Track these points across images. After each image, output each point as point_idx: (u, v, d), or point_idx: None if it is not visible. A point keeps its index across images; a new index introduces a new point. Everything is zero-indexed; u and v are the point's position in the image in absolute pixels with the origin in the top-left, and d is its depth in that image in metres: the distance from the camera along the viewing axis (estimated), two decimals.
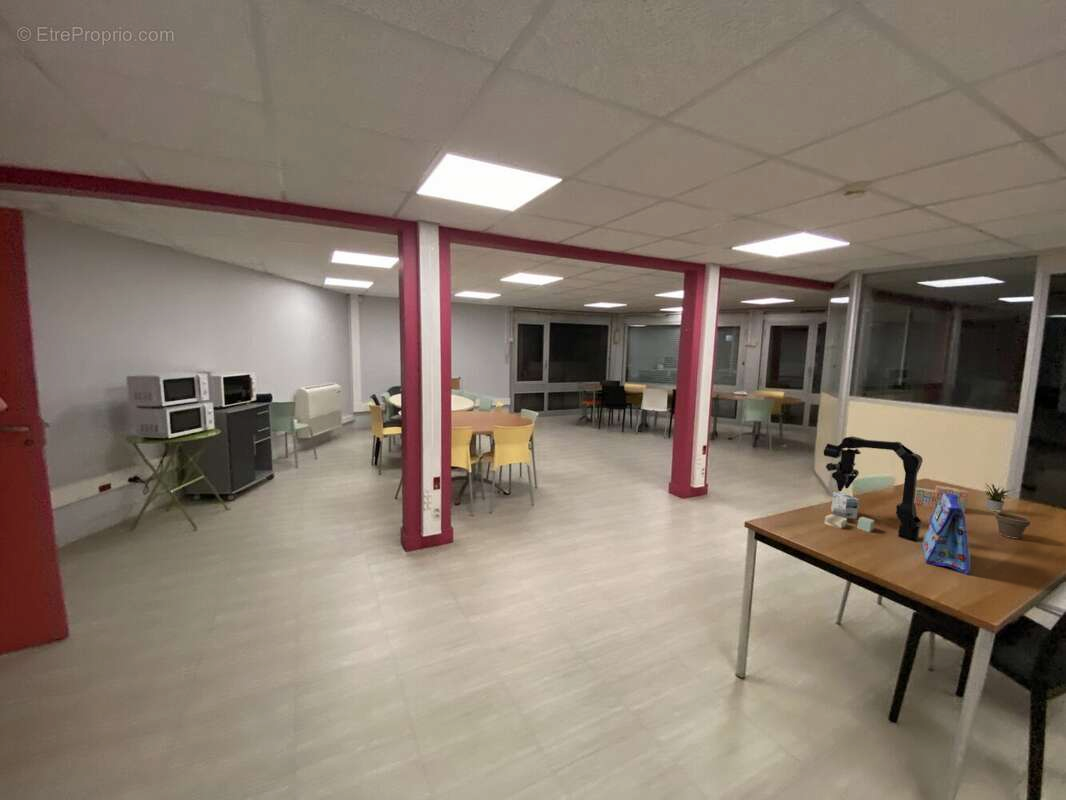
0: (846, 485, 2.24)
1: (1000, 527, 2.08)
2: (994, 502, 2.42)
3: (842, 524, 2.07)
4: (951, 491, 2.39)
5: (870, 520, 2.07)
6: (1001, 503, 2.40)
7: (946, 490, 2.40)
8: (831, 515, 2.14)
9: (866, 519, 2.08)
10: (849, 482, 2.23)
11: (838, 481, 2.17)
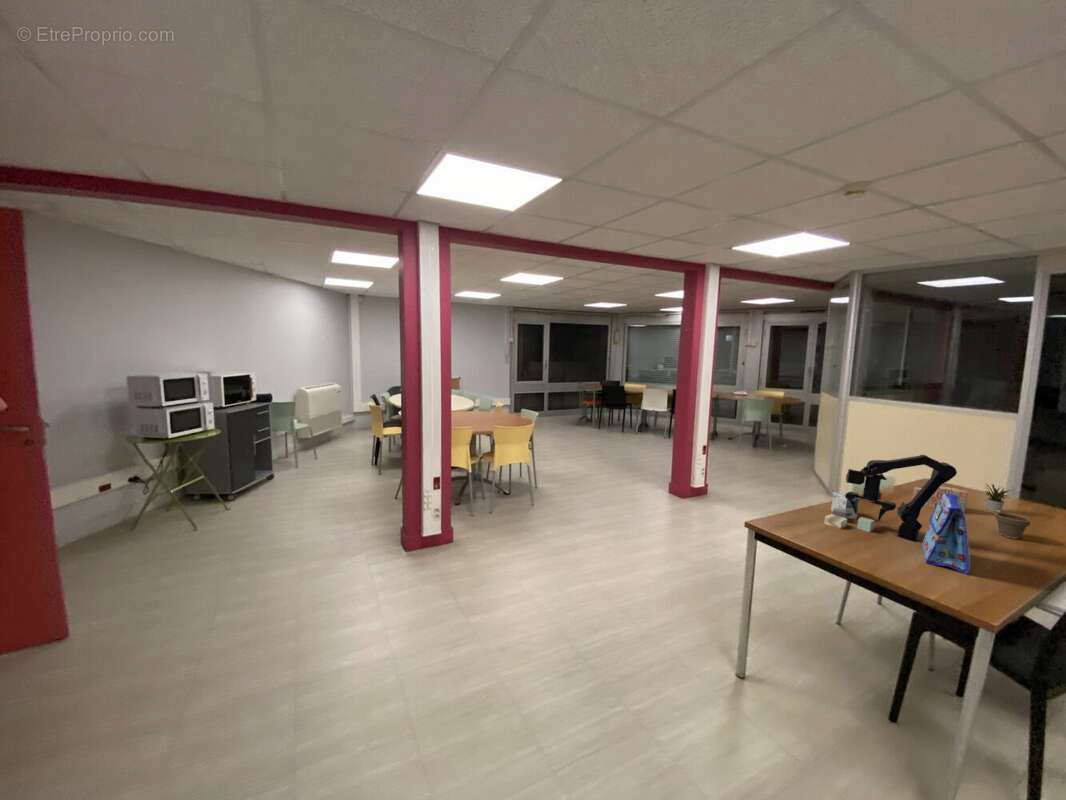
0: None
1: (1000, 527, 2.08)
2: (994, 502, 2.42)
3: (841, 524, 2.07)
4: (951, 491, 2.39)
5: (870, 520, 2.07)
6: (1001, 503, 2.40)
7: (946, 490, 2.40)
8: (831, 515, 2.14)
9: (866, 519, 2.08)
10: None
11: None
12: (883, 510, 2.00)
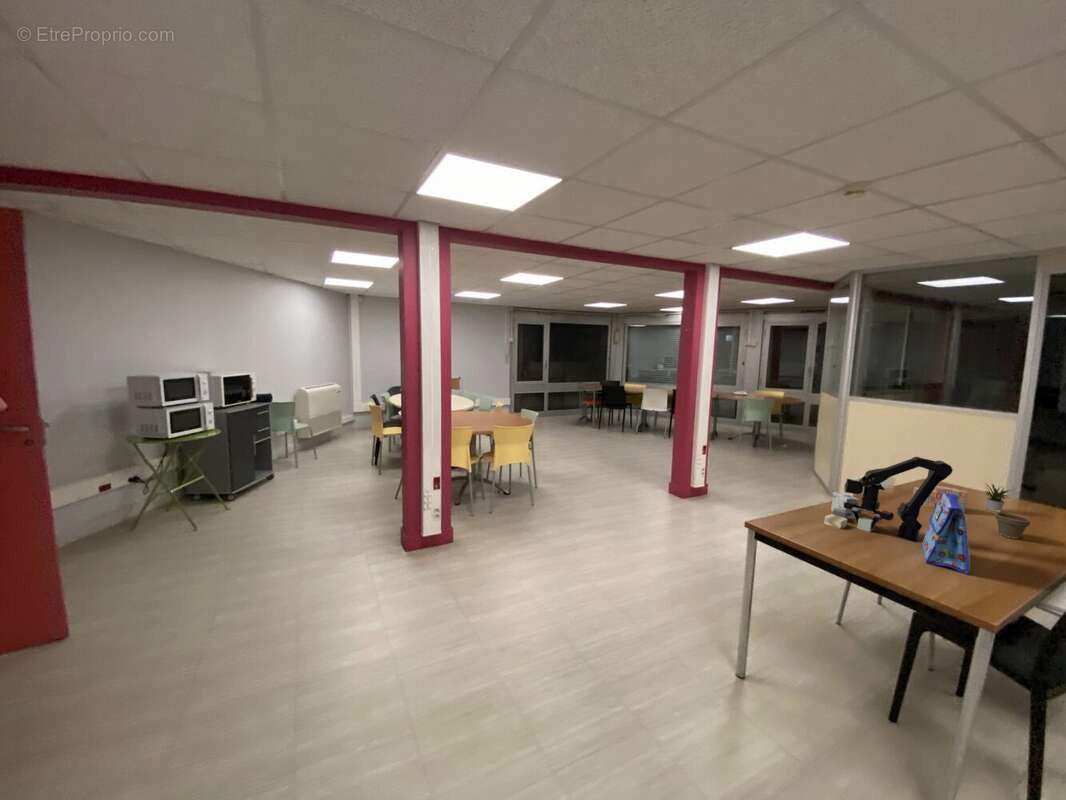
0: None
1: (1000, 527, 2.08)
2: (994, 502, 2.42)
3: (841, 524, 2.07)
4: (950, 491, 2.39)
5: (870, 520, 2.07)
6: (1001, 503, 2.40)
7: (945, 490, 2.40)
8: (831, 515, 2.14)
9: (866, 519, 2.08)
10: None
11: None
12: (876, 519, 2.02)
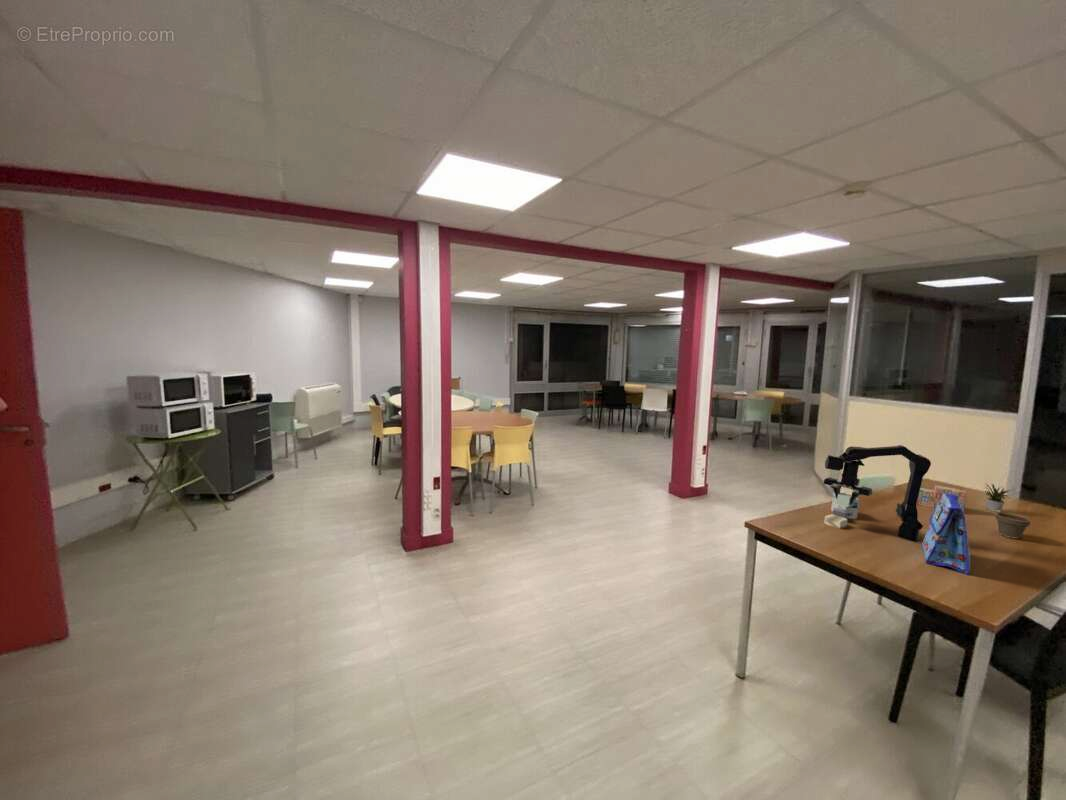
0: None
1: (1000, 527, 2.08)
2: (994, 502, 2.42)
3: (841, 524, 2.07)
4: (950, 491, 2.39)
5: (849, 496, 2.08)
6: (1001, 503, 2.40)
7: (945, 490, 2.40)
8: (831, 515, 2.14)
9: (845, 495, 2.09)
10: None
11: None
12: (855, 494, 2.03)
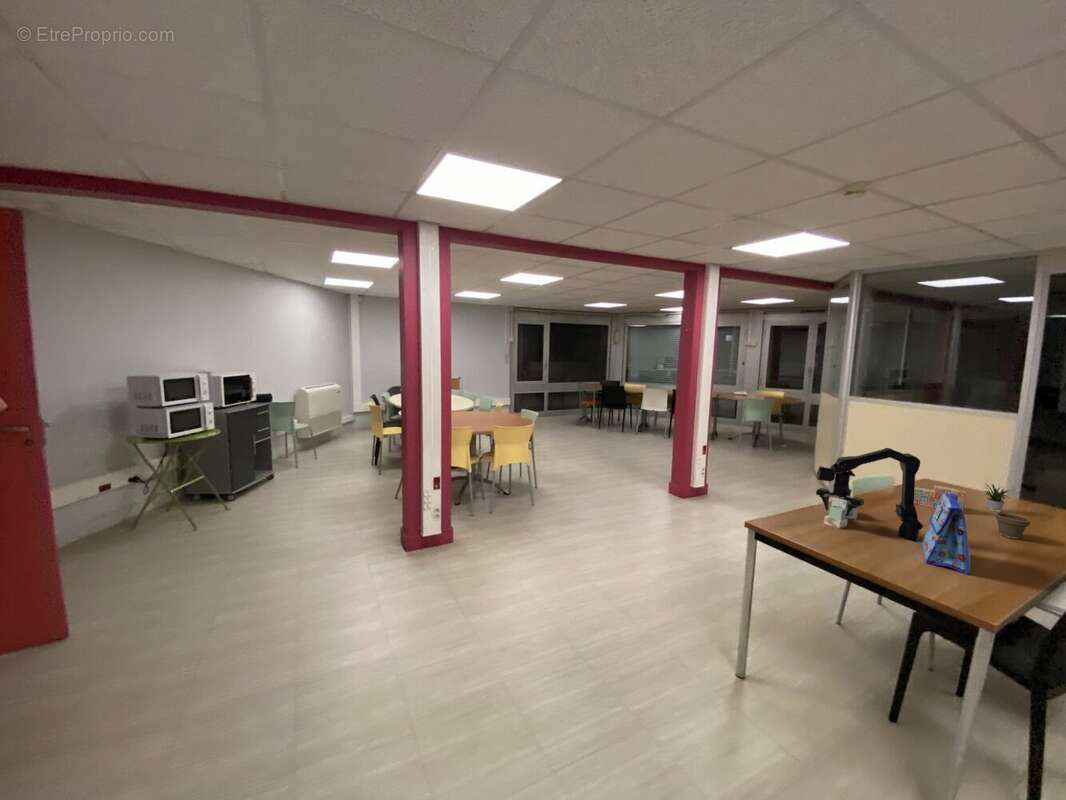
0: None
1: (1000, 527, 2.08)
2: (994, 502, 2.42)
3: (841, 524, 2.07)
4: (949, 491, 2.39)
5: (841, 509, 2.09)
6: (1001, 503, 2.40)
7: (944, 490, 2.40)
8: None
9: (837, 508, 2.10)
10: None
11: None
12: (851, 506, 2.03)
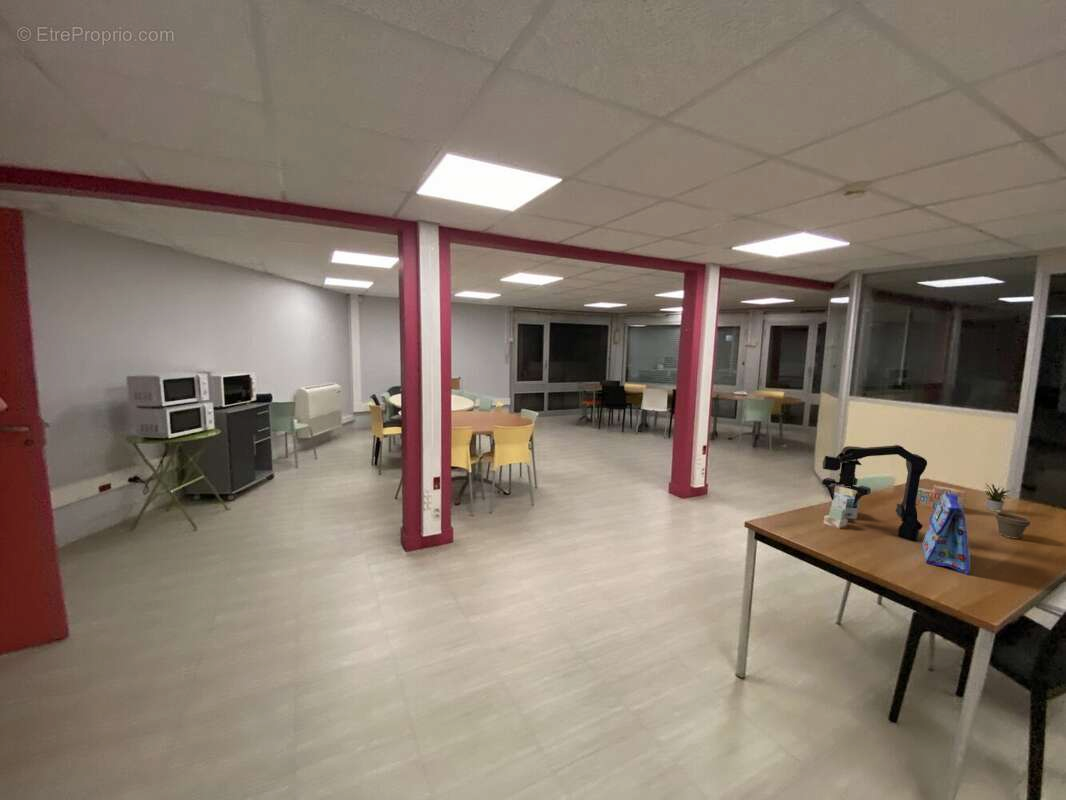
0: None
1: (1000, 527, 2.08)
2: (994, 502, 2.42)
3: (840, 524, 2.07)
4: (949, 491, 2.39)
5: (841, 509, 2.09)
6: (1001, 503, 2.40)
7: (943, 490, 2.40)
8: None
9: (837, 508, 2.10)
10: None
11: None
12: (858, 495, 2.03)
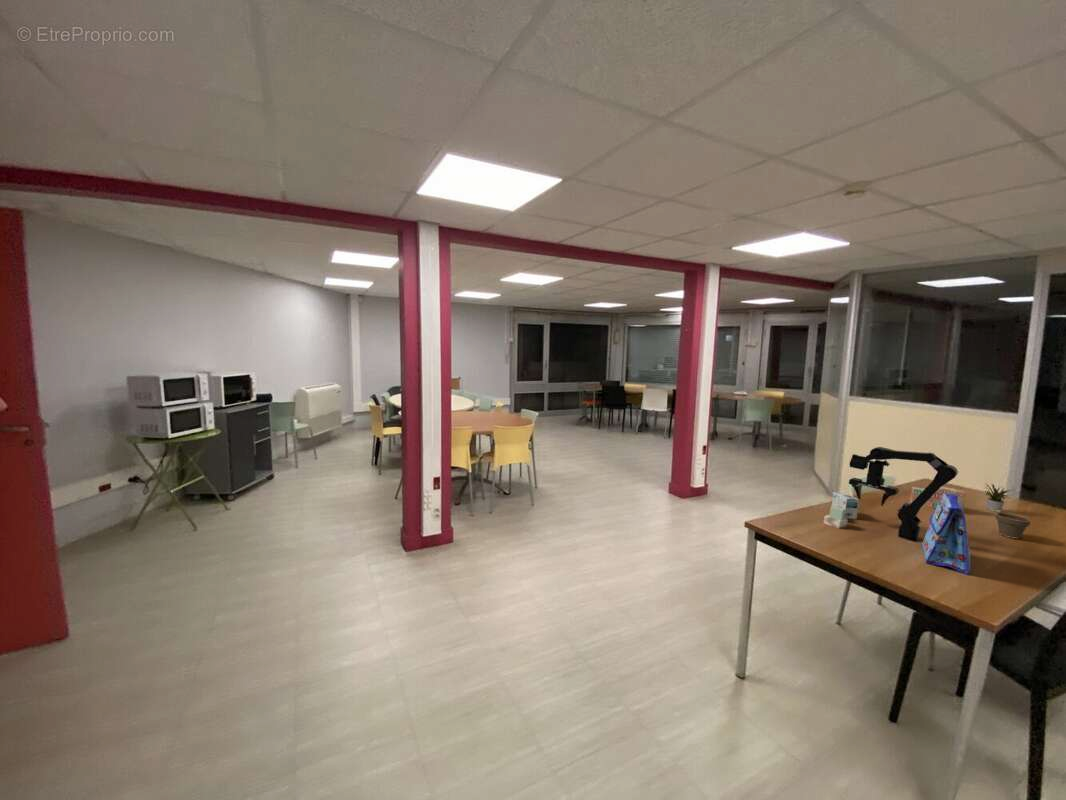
0: None
1: (1000, 527, 2.08)
2: (994, 502, 2.42)
3: (840, 524, 2.08)
4: (948, 491, 2.39)
5: (841, 509, 2.09)
6: (1001, 503, 2.40)
7: (943, 490, 2.40)
8: None
9: (838, 508, 2.10)
10: None
11: None
12: (886, 495, 2.03)
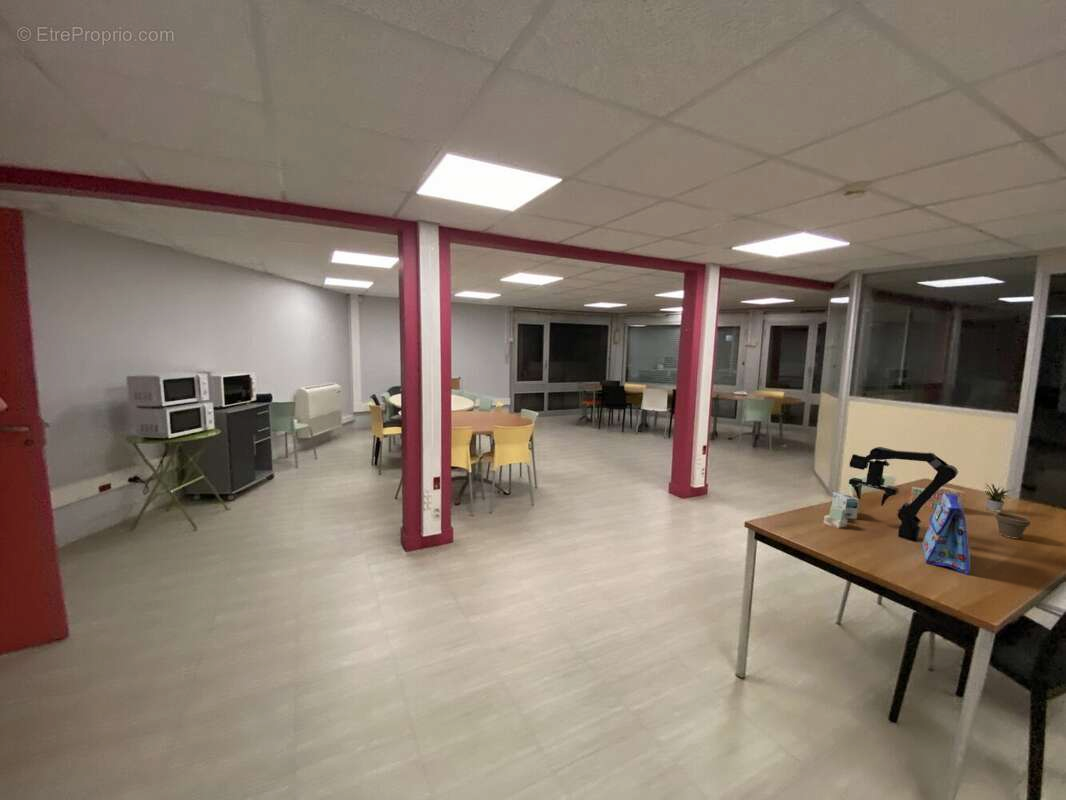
0: None
1: (1000, 527, 2.08)
2: (994, 502, 2.42)
3: (840, 524, 2.08)
4: (948, 491, 2.39)
5: (841, 509, 2.09)
6: (1001, 503, 2.40)
7: (943, 490, 2.40)
8: None
9: (837, 508, 2.10)
10: None
11: None
12: (886, 495, 2.03)
